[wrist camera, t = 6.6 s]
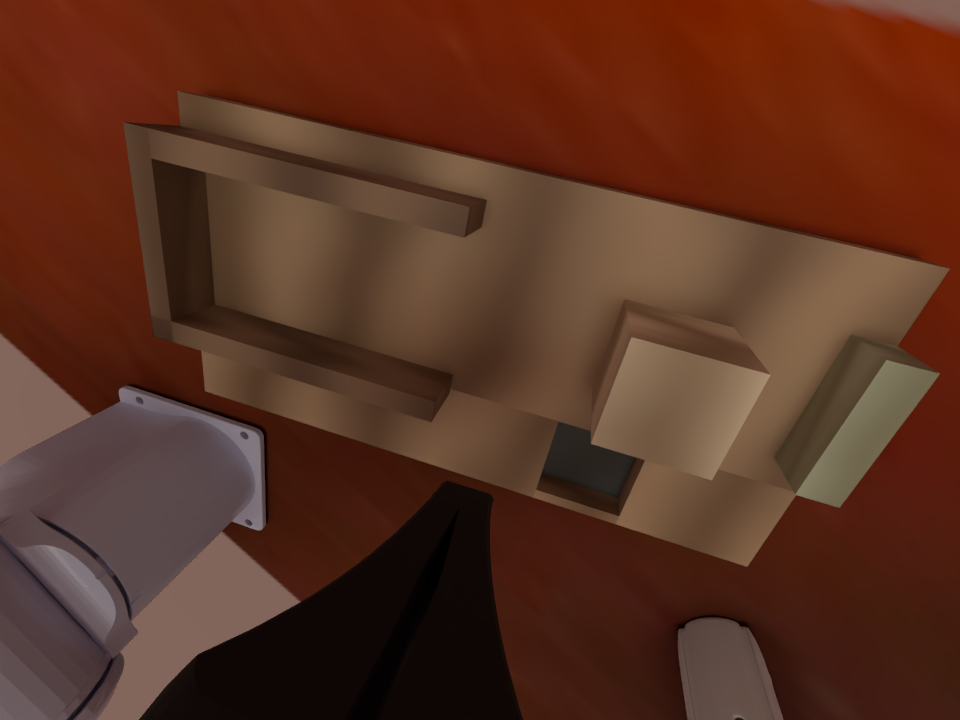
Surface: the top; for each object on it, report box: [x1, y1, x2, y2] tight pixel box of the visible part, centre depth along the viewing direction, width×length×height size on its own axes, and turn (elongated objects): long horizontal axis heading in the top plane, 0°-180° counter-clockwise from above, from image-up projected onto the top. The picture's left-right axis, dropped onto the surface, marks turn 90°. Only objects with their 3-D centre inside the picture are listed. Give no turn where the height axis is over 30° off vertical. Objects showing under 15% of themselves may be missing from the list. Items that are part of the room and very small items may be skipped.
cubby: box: [123, 122, 487, 422], centre depth 18 cm, size 13×8×2 cm, turn 79°
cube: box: [591, 299, 771, 480], centre depth 16 cm, size 4×4×4 cm
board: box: [178, 91, 949, 567], centre depth 19 cm, size 28×14×4 cm, turn 79°
